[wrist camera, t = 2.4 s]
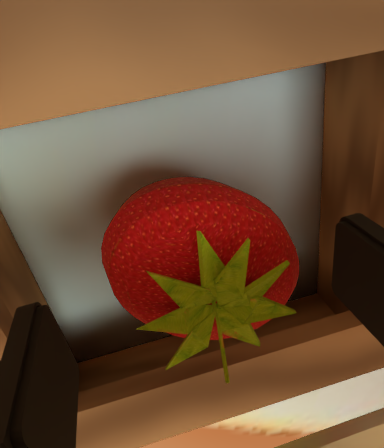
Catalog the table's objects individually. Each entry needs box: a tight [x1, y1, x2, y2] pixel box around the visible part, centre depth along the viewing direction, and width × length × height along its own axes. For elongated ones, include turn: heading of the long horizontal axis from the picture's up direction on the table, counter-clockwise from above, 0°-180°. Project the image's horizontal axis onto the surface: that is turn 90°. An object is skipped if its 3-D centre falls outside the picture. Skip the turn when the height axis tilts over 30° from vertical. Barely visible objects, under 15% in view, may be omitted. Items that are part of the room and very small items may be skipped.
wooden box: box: [0, 0, 384, 448], centre depth 15 cm, size 20×18×6 cm
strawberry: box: [101, 177, 299, 384], centre depth 13 cm, size 6×8×10 cm
